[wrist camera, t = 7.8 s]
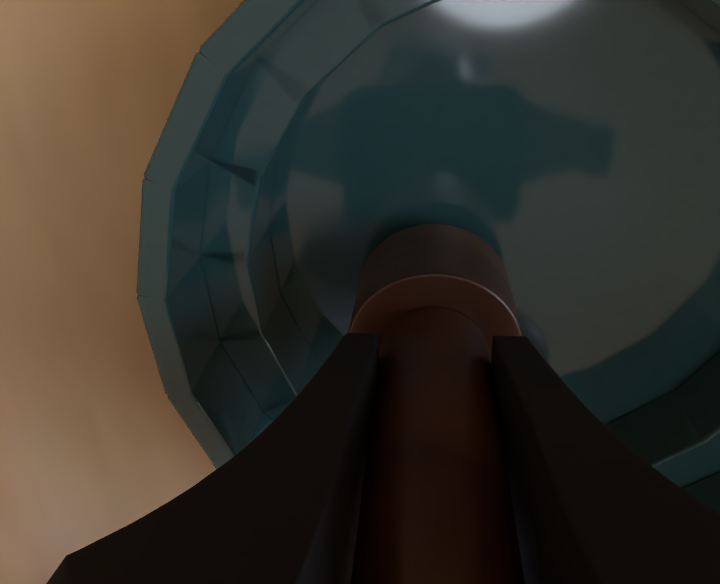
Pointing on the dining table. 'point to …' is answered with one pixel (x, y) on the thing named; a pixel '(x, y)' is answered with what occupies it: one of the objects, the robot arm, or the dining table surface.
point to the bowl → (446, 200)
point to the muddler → (435, 413)
